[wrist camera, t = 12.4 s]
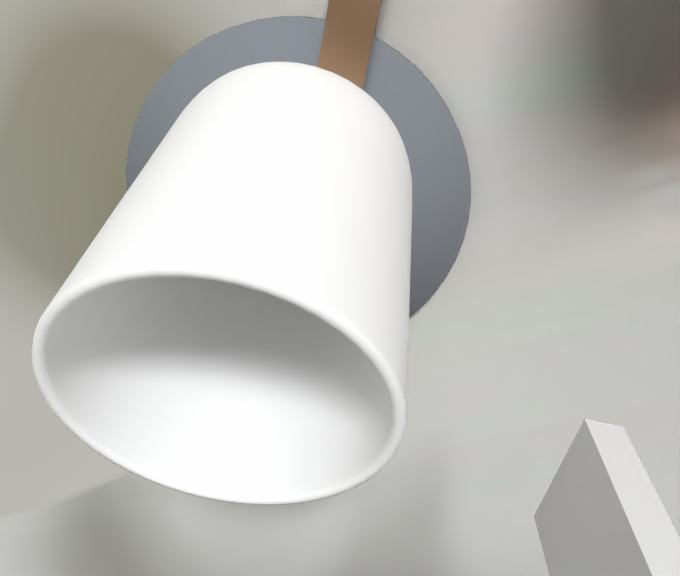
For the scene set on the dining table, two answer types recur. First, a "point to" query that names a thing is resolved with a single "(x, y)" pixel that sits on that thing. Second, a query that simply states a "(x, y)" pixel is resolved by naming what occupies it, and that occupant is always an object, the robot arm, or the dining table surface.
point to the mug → (246, 298)
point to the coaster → (380, 83)
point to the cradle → (349, 38)
